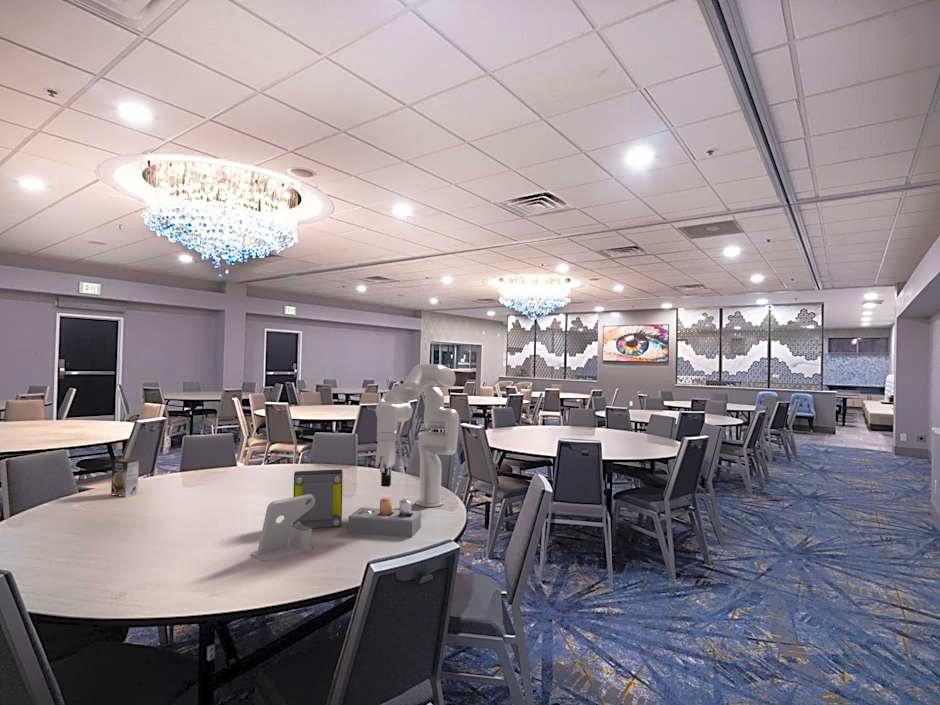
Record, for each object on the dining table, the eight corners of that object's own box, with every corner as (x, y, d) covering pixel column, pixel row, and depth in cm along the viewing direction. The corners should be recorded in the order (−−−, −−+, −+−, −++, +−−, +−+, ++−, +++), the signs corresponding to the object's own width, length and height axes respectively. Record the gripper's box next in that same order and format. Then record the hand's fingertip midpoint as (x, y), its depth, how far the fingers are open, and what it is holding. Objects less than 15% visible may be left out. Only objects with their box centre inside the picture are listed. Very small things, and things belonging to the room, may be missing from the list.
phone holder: (299, 541, 180) (300, 488, 181) (315, 548, 174) (316, 493, 174) (250, 554, 167) (251, 497, 168) (265, 562, 161) (267, 503, 161)
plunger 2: (401, 512, 196) (401, 498, 196) (412, 513, 195) (412, 499, 195) (397, 516, 191) (397, 501, 191) (409, 517, 190) (409, 502, 191)
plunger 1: (362, 522, 198) (363, 508, 198) (373, 523, 197) (374, 509, 197) (358, 526, 194) (358, 511, 194) (369, 527, 193) (370, 512, 193)
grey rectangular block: (360, 523, 202) (361, 507, 202) (420, 527, 198) (421, 511, 198) (348, 532, 190) (348, 516, 190) (412, 537, 186) (412, 520, 186)
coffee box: (110, 495, 238) (111, 460, 238) (123, 492, 244) (124, 457, 244) (125, 497, 235) (126, 461, 236) (138, 494, 241) (139, 459, 242)
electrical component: (292, 530, 192) (293, 476, 192) (293, 522, 201) (295, 470, 202) (341, 527, 196) (342, 474, 197) (340, 519, 206) (341, 468, 207)
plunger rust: (382, 511, 197) (382, 497, 197) (393, 512, 196) (393, 498, 196) (378, 514, 193) (378, 500, 193) (389, 515, 192) (389, 501, 192)
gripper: (384, 433, 203) (383, 481, 202) (370, 438, 188) (369, 490, 188) (402, 434, 202) (401, 482, 201) (390, 439, 187) (389, 491, 186)
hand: (385, 486), depth 194 cm, fingers closed
